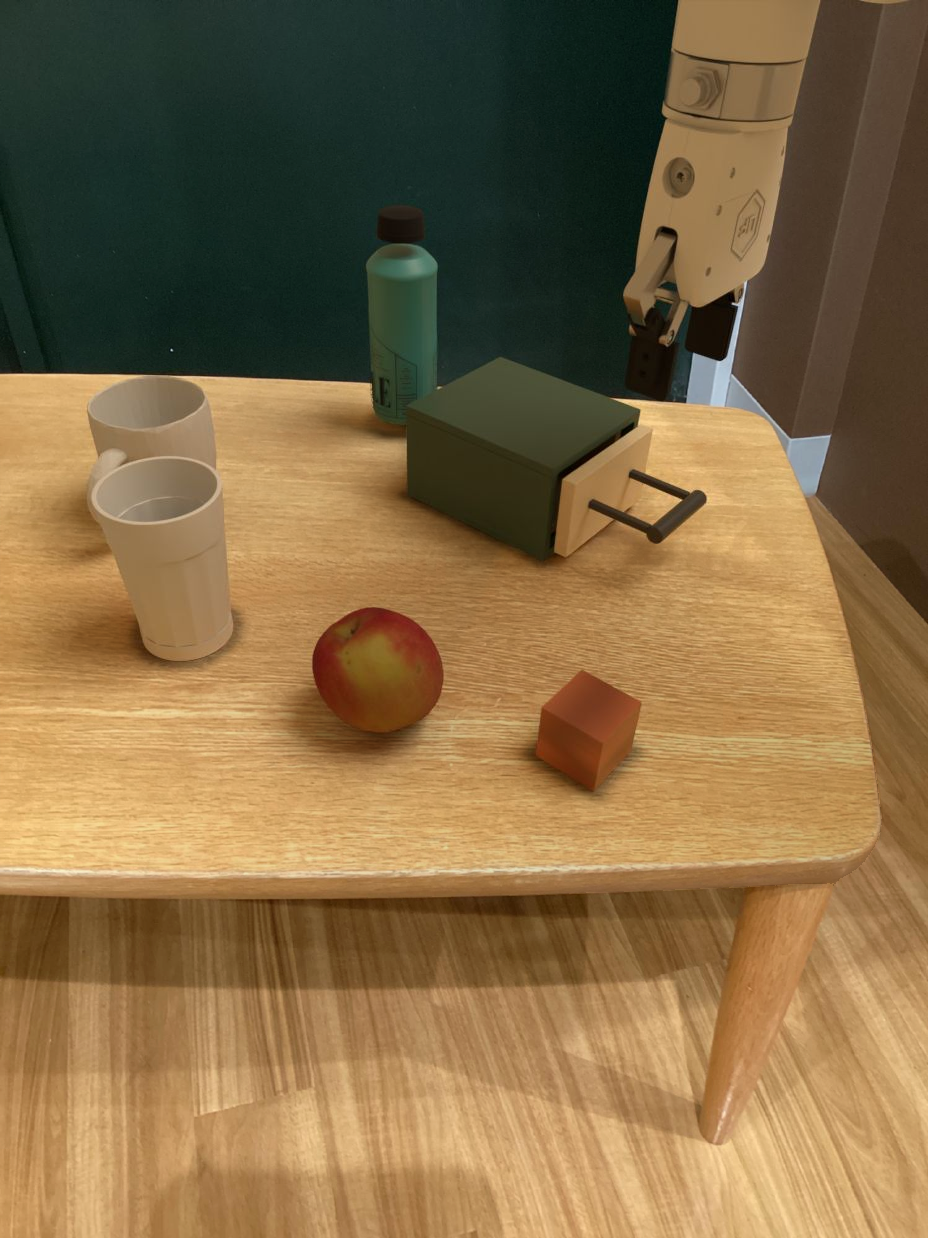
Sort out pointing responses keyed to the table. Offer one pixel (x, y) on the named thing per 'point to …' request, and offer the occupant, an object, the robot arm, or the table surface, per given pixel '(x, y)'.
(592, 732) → the block
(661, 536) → the drawer
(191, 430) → the mug
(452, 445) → the cabinet
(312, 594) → the table surface
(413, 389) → the beverage bottle
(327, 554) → the table surface
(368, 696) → the apple
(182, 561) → the cup
